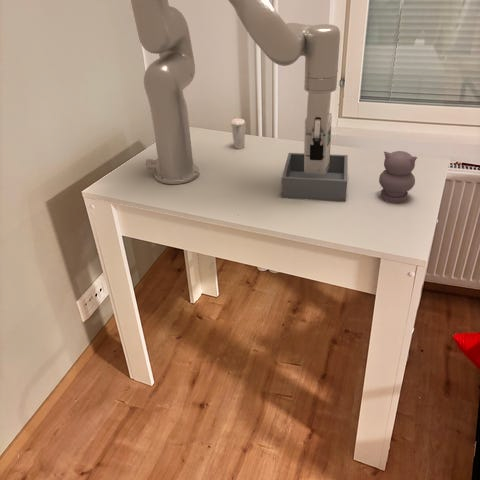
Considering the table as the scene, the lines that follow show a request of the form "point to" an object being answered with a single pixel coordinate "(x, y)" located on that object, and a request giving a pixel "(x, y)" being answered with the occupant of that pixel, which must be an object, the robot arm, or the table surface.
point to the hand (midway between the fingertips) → (316, 153)
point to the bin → (315, 179)
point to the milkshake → (238, 132)
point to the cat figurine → (397, 176)
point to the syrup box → (322, 165)
